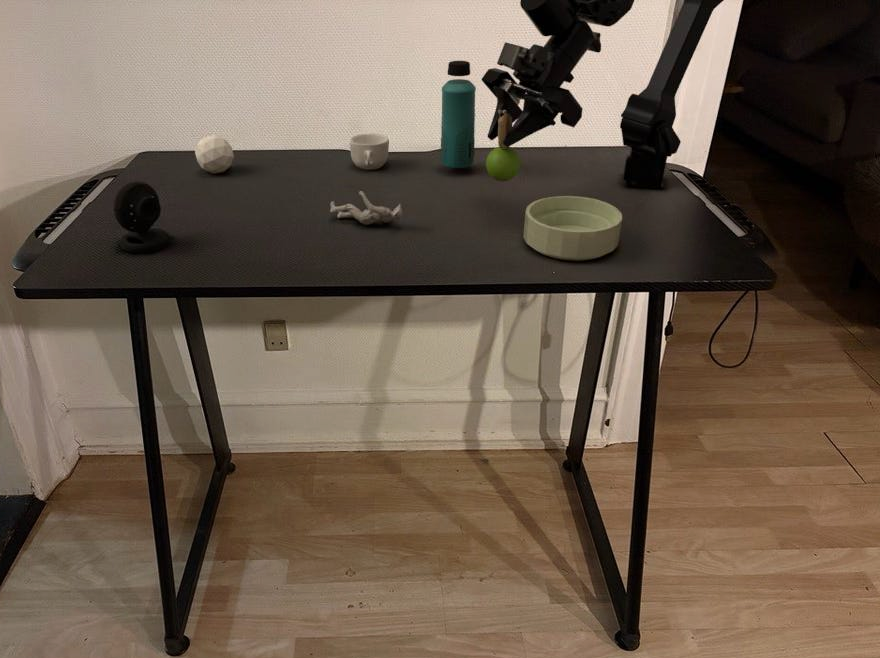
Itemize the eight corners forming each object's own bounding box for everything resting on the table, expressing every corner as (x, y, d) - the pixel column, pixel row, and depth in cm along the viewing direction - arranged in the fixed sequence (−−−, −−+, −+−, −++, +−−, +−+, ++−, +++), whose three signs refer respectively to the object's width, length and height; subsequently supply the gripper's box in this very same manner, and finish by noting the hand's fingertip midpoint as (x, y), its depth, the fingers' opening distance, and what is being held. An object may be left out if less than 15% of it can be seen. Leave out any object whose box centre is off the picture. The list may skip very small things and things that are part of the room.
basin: (616, 229, 116) (621, 199, 114) (617, 267, 105) (622, 235, 102) (527, 222, 119) (530, 192, 117) (518, 258, 108) (521, 227, 105)
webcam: (142, 258, 110) (128, 195, 104) (109, 248, 113) (93, 186, 108) (180, 240, 115) (168, 179, 110) (148, 230, 119) (135, 171, 113)
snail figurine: (481, 186, 115) (483, 109, 108) (489, 173, 120) (492, 98, 113) (515, 189, 113) (520, 111, 107) (521, 175, 118) (527, 100, 112)
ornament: (196, 179, 139) (180, 140, 138) (219, 180, 146) (204, 143, 145) (224, 162, 136) (207, 122, 136) (246, 165, 143) (230, 127, 142)
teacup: (351, 160, 147) (350, 133, 144) (389, 159, 147) (389, 132, 144) (349, 176, 139) (347, 149, 136) (389, 176, 139) (388, 148, 136)
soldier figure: (348, 215, 125) (411, 201, 120) (348, 241, 124) (411, 228, 119) (325, 196, 118) (390, 180, 113) (324, 223, 117) (390, 208, 112)
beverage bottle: (471, 176, 138) (476, 65, 127) (437, 175, 139) (438, 64, 128) (475, 165, 143) (480, 58, 132) (442, 164, 144) (444, 57, 133)
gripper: (494, 12, 112) (433, 97, 114) (576, 29, 98) (506, 124, 100) (530, 60, 120) (473, 138, 121) (611, 81, 106) (545, 169, 108)
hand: (497, 141), depth 112 cm, fingers closed on snail figurine, 4 cm apart
